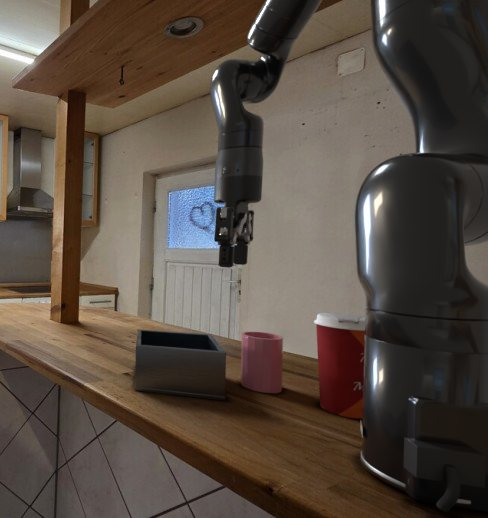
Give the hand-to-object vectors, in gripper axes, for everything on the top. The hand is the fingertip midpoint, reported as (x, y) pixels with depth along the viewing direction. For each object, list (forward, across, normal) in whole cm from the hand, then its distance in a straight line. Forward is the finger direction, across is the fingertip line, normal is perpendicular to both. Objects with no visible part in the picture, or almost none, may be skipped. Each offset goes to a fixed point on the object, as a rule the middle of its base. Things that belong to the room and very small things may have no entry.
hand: (233, 265), depth 68 cm
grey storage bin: (+21, -10, +6) cm, 24 cm away
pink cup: (+21, -2, -6) cm, 22 cm away
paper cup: (+20, -4, -17) cm, 27 cm away
